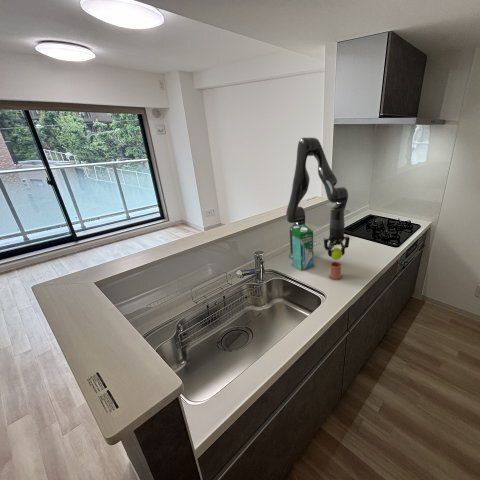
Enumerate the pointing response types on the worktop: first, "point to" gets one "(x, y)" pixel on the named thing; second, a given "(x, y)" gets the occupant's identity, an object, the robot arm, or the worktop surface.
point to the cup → (335, 270)
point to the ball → (336, 253)
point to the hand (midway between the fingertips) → (336, 255)
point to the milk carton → (302, 246)
